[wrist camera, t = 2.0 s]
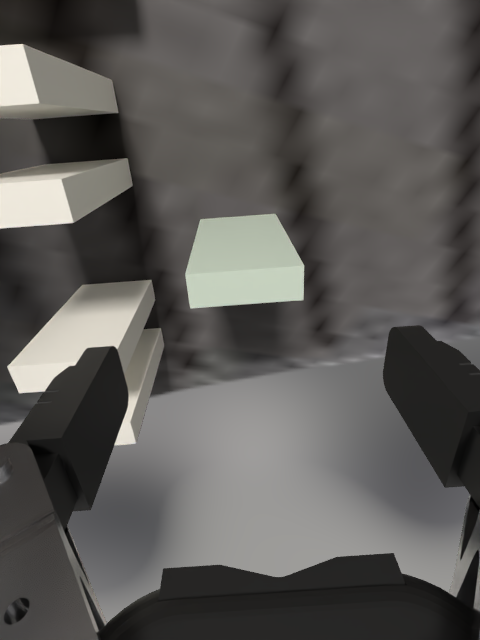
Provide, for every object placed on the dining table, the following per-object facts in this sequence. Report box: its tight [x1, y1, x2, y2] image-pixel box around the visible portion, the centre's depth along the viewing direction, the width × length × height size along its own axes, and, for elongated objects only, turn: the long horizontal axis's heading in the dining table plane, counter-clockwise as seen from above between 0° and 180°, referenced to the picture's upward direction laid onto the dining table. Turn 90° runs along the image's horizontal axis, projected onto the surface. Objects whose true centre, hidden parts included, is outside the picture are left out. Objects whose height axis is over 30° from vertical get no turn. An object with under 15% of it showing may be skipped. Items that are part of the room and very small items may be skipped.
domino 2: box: [7, 280, 155, 393], centre depth 22 cm, size 2×5×10 cm, turn 94°
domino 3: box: [114, 328, 164, 445], centre depth 24 cm, size 2×5×10 cm, turn 94°
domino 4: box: [185, 214, 304, 308], centre depth 20 cm, size 2×5×10 cm, turn 94°
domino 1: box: [0, 158, 133, 228], centre depth 18 cm, size 2×5×10 cm, turn 94°
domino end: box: [0, 44, 119, 119], centre depth 16 cm, size 2×5×10 cm, turn 94°
